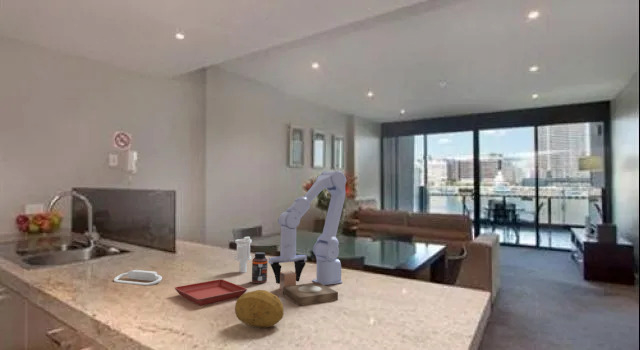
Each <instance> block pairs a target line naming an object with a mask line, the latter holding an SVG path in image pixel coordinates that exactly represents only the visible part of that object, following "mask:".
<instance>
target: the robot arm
mask: <svg viewBox="0 0 640 350" xmlns="http://www.w3.org/2000/svg"><path fill="white" fill-rule="evenodd" d="M346 177H347V176H345V174H344V172H343V171H341V170H335V171H334V170H329V171H327V170H324V171H322V172H321V173H320V174H319V175H318V176H317V177H316V180H315V182H314V183H312V186H311V187H310V188H309V189H308V191H307V192H306V193H305V194H304V195H303V196H298V197H296V198H295V199H294V202H293V203H292V205H291V206H289V207H287V209H286V211H284V212H282V213H281V214H280V215H279V218H278V219H277V222H278V225H279V226H280V255H279V256H273V257H268V264H269V265H270V267H271V268H272V272H273V273H274V274H273V275H274V278H275V283H276V284H277V285H280V272H282V271H281V270H282V265H281V263H283V264H284V263H291V262H293V264H294V273H296V283H298V282H300V278H301V275H302V272H303V270H304V268H305V266H306V262H307V261H308V255H307V254H297V227H299V226H300V223H301V218H303V216H304V215H305V214H306V213H307V211H308V210H309V209H310V208H311V202H312V201H314V199H315V198H317V197H318V195H319V194H320V193H321V192H323V190H327V192H329V194H330V201H329V204H328V209H327V214H326V217H325V222H324V226H323V229H322V233H321V234H319V236H318V237H317V240H316V242H315V243H314V245H313V249H312V251H313V254H314V256H315V258H316V278H315V279H312V280H311V281H312V282H313V283H316V282H319V283H321V284H323V285H325V286H328V285H336V284H342V283H343V281H342V264H341V260H340V259H339V258H338V256H339V253H340V249H339V245H340V242H339V240H338V238H337V233H338V228H339V224H340V222H341V215H342V212H343V207H344V204H345V199H346V196H347V194H346V192H347V191H346V183H347V180H348V179H347V178H346Z"/></svg>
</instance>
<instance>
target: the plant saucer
mask: <svg viewBox="0 0 640 350" xmlns="http://www.w3.org/2000/svg"><path fill="white" fill-rule="evenodd" d="M174 290H175V291H176V292H177V293H178V295H179V296H181V297H182V298H184V299H186V300H188V301H190V302H192V303H194V304H195V305H197V306H199V307H204V306H207V305H208V306H209V305H212V304H216V303H217V304H218V303H221V302H225V301H230V300H234V299H235V300H236V299H238V298H239V297H240V296H241V295H243V294H245V293H247V292H248V288H246V287H244V286H242V285H238V284H236V283H233V282H230V281H228V280H226V279H225V280H224V279H222V278H221V279H214V280H208V281H203V282H196V283H191V284H185V285H179V286H175V287H174Z"/></svg>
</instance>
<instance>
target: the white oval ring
mask: <svg viewBox="0 0 640 350" xmlns="http://www.w3.org/2000/svg"><path fill="white" fill-rule="evenodd" d="M123 277H128V279H130V280H131V281H130V280H121V278H123ZM162 279H163V276H161V275H160V274H158V272H157V271H151V270H140V269H133V270H129V271H127V272H123V273H121V274H118V275H117V276H115V277H114V278H113V281H114V283H118V284H128V285H137V286H155V285H157V284H158V283H160V282H161V281H162ZM132 280H140V281H132ZM142 281H148V282H142Z"/></svg>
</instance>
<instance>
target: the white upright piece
mask: <svg viewBox="0 0 640 350" xmlns="http://www.w3.org/2000/svg"><path fill="white" fill-rule="evenodd" d="M234 243H235V244H236V256H235V257H234V260H235V261H239V270H238V271H239V273H242V274H244V273H247V272H248V271H247V266H248V265H247V264H248V261H251V260H252V255H251V244H252V243H253V239H251V236H244V237H243V238H240V239H239V238H238V239H235V242H234Z"/></svg>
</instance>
